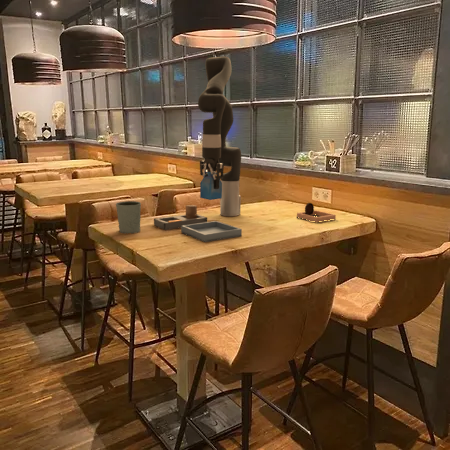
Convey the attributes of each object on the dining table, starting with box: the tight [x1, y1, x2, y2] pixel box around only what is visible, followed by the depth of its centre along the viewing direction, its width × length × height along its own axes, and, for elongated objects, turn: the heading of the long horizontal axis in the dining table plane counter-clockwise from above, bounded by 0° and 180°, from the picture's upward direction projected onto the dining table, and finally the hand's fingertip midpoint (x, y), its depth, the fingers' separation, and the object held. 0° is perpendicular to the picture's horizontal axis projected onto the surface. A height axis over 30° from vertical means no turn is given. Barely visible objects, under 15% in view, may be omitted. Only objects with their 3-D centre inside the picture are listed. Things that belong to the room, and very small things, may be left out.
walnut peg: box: [185, 204, 198, 219], centre depth 210 cm, size 5×5×8 cm
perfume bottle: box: [199, 169, 222, 201], centre depth 186 cm, size 6×6×12 cm
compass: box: [304, 202, 322, 217], centre depth 225 cm, size 8×8×7 cm
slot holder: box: [153, 213, 208, 231], centre depth 207 cm, size 22×10×3 cm, turn 126°
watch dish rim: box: [296, 209, 337, 222], centre depth 224 cm, size 13×13×2 cm
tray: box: [180, 220, 243, 243], centre depth 191 cm, size 18×18×3 cm
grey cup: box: [115, 200, 142, 235], centre depth 193 cm, size 10×10×12 cm
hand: (211, 187), depth 187 cm, fingers closed on perfume bottle, 6 cm apart
